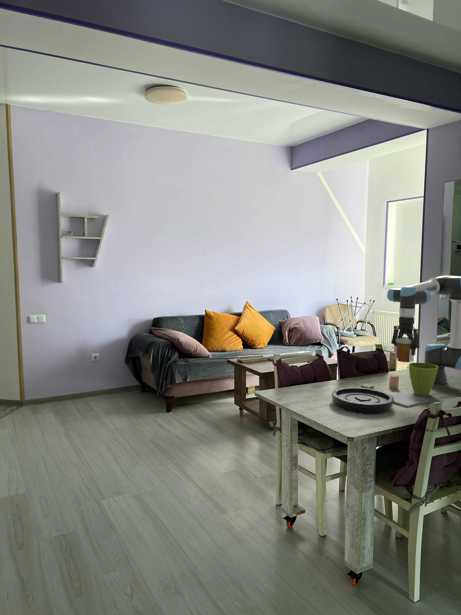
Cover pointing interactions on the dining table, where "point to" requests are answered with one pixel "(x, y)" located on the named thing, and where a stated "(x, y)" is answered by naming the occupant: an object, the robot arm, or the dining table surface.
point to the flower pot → (422, 377)
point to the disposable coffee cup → (403, 349)
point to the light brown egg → (393, 381)
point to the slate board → (408, 400)
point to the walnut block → (367, 386)
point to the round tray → (362, 400)
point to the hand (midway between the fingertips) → (404, 359)
